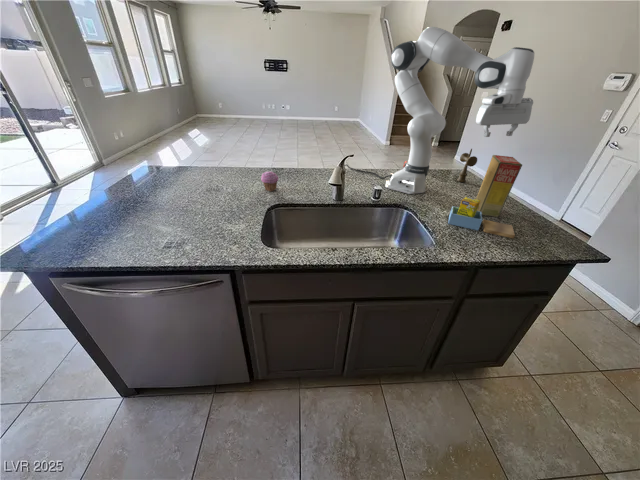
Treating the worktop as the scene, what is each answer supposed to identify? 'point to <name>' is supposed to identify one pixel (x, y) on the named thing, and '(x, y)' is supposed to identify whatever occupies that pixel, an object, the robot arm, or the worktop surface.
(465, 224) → the basket
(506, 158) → the food packaging
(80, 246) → the worktop surface
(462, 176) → the kendama
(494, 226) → the oak board
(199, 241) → the worktop surface
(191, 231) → the worktop surface
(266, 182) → the cupcake
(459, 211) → the supplement box
